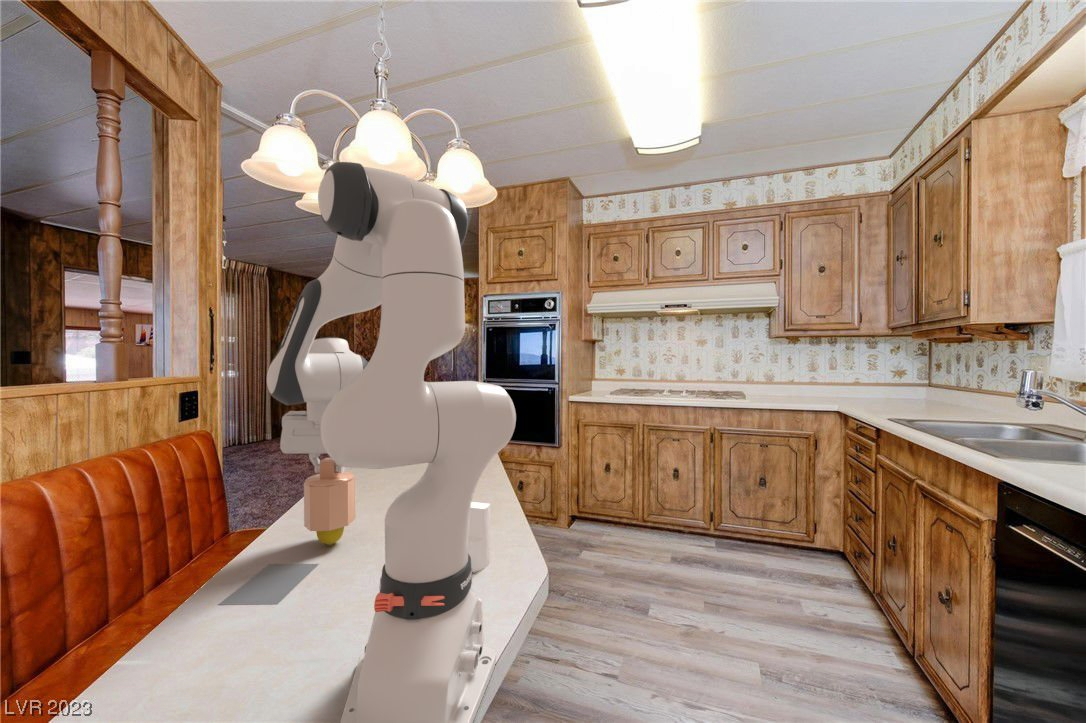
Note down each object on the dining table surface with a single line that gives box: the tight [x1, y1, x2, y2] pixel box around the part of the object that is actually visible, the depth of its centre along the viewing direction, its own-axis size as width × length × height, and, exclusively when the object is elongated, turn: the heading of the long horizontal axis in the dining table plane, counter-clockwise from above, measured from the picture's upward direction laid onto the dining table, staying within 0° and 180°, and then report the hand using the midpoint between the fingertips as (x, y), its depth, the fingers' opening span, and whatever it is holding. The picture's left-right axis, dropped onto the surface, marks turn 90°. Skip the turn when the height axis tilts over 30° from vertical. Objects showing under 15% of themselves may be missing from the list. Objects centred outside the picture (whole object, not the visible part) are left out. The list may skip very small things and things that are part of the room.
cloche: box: [303, 457, 356, 532], centre depth 95 cm, size 10×10×14 cm
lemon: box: [315, 527, 345, 546], centre depth 95 cm, size 6×6×8 cm
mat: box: [217, 563, 320, 606], centre depth 79 cm, size 14×10×1 cm
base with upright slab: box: [468, 501, 491, 573], centre depth 88 cm, size 9×9×12 cm
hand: (329, 472), depth 95 cm, fingers closed on cloche, 3 cm apart
